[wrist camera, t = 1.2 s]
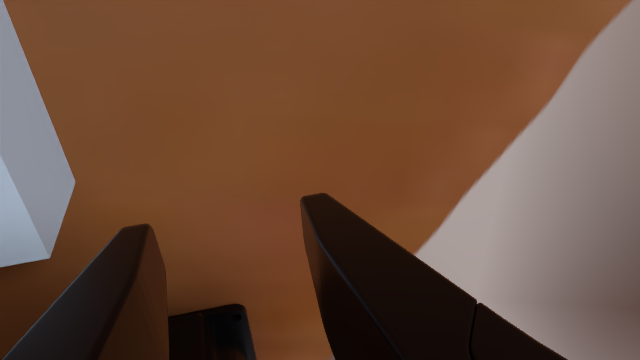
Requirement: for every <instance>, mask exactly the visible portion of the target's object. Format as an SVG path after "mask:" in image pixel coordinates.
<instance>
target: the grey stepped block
mask: <svg viewBox="0 0 640 360" xmlns="http://www.w3.org/2000/svg"><path fill="white" fill-rule="evenodd" d="M74 185H75V180H74V177H73V175H72V172H71V170H70V167H69V165H68V162H67V160H66V157H65V155H64V152H63V150H62V147H61V145H60V142H59V140H58V137H57V135H56V132H55V130H54V127H53V125H52V122H51V120H50V117H49V115H48V112H47V110H46V107H45V105H44V102H43V100H42V97H41V95H40V92H39V90H38V87H37V85H36V82H35V80H34V77H33V75H32V72H31V70H30V67H29V65H28V62H27V60H26V57H25V55H24V52H23V50H22V47H21V45H20V42H19V40H18V37H17V35H16V32H15V30H14V27H13V25H12V22H11V20H10V17H9V15H8V12H7V10H6V7H5V5H4V2H3V0H0V267H5V266H10V265H15V264H21V263H26V262H32V261H37V260H42V259H48V258H50V256H51V253H52V251H53V248H54V245H55V242H56V239H57V236H58V233H59V230H60V227H61V224H62V221H63V218H64V215H65V212H66V209H67V206H68V203H69V200H70V197H71V194H72V191H73V188H74Z"/></svg>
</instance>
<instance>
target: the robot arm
mask: <svg viewBox="0 0 640 360" xmlns="http://www.w3.org/2000/svg"><path fill="white" fill-rule="evenodd" d="M300 207H301V217H302V226H303V236H304V243H305V249H306V253H307V257H308V262H309V266H310V270H311V275H312V279H313V283H314V288H315V292H316V296H317V301H318V305H319V309H320V313H321V318H322V321H323V325H324V329H325V332H326V335H327V338H328V341H329V344H330V347H331V349H332V352H333V355H334V357H335V360H568V359H566V358H564V357H563V356H561V355H559V354H558V353H556V352H554V351H553V350H551V349H550V348H548V347H546V346H545V345H543V344H541V343H540V342H538V341H536V340H535V339H534V338H532V337H530V336H529V335H527V334H526V333H525V332H523V331H521V330H520V329H519V328H517V327H515V326H514V325H513V324H511V323H510V322H508V321H506V320H505V319H503V318H502V317H501V316H499V315H498V314H496V313H495V312H494V311H492V310H491V309H489V308H488V307H487V306H485V305H483V304H482V303H478V304H477V300H476V299H475V298H474V297H472V296H471V295H469V294H468V293H466V292H465V291H464V290H462V289H461V288H459V287H458V286H457V285H455V284H454V283H452V282H451V281H449V280H448V279H447V278H445V277H444V276H442V275H441V274H440V273H438V272H437V271H435V270H434V269H433V268H431V267H430V266H428V265H427V264H425V263H424V262H423V261H421V260H420V259H418V258H417V257H416V256H414V255H413V254H411V253H410V252H409V251H407V250H406V249H404V248H403V247H401V246H400V245H399V244H397V243H396V242H394V241H393V240H392V239H390V238H389V237H387V236H386V235H384V234H383V233H382V232H380V231H379V230H377V229H376V228H375V227H373V226H372V225H370V224H369V223H368V222H366V221H365V220H363V219H362V218H360V217H359V216H358V215H356V214H355V213H353V212H352V211H351V210H349V209H348V208H346V207H345V206H343V205H342V204H341V203H339V202H338V201H336V200H335V199H334V198H332V197H331V196H329V195H328V194H326V193H319V194H313V195H307V196H303V197H302V198H301V200H300ZM234 314H238V315H234ZM2 360H256V355H255V350H254V345H253V340H252V336H251V331H250V326H249V321H248V316H247V312H246V308H245V307H244V306H243V305H240V304H233V305H228V306H223V307H218V308H213V309H208V310H203V311H198V312H193V313H188V314H183V315H178V316H173V317H168V311H167V287H166V272H165V266H164V262H163V259H162V256H161V253H160V249H159V246H158V243H157V240H156V237H155V234H154V231H153V228H152V227H151V226H150V225H149V224H140V225H134V226H129V227H124V228H122V229H121V230H120V231H119V232H118V233H117V234H116V235H115V236H114V237H113V238H112V239H111V240H110V242H109V243H108V244H107V245H106V246H105V247H104V248H103V249H102V250H101V251H100V252H99V254H98V255H97V256H96V257H95V258H94V259H93V260H92V261H91V262H90V263H89V265H88V266H87V267H86V268H85V269H84V270H83V271H82V272H81V273H80V274H79V276H78V277H77V278H76V279H75V280H74V281H73V282H72V283H71V284H70V285H69V286H68V288H67V289H66V290H65V291H64V292H63V293H62V294H61V295H60V296H59V297H58V299H57V300H56V301H55V302H54V303H53V304H52V305H51V306H50V307H49V308H48V309H47V311H46V312H45V313H44V314H43V315H42V316H41V317H40V318H39V319H38V320H37V322H36V323H35V324H34V325H33V326H32V327H31V328H30V329H29V330H28V331H27V333H26V334H25V335H24V336H23V337H22V338H21V339H20V340H19V341H18V342H17V343H16V345H15V346H14V347H13V348H12V349H11V350H10V351H9V352H8V353H7V354H6V356H5V357H4V358H3V359H2Z"/></svg>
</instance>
